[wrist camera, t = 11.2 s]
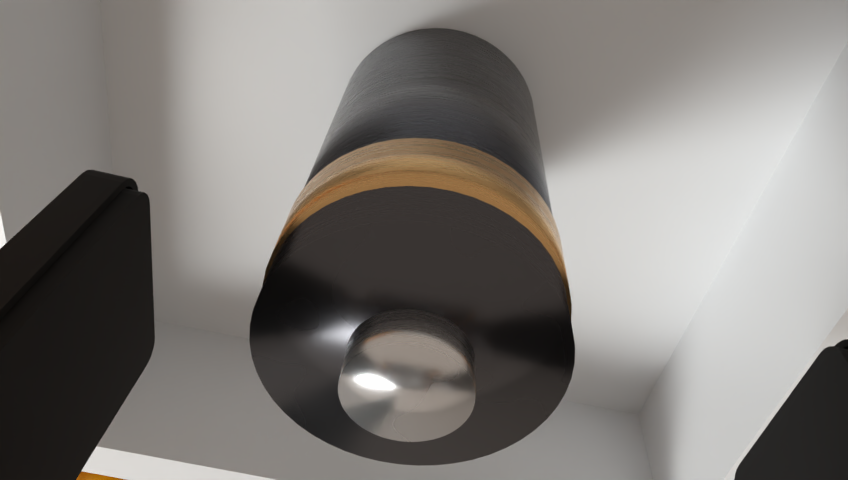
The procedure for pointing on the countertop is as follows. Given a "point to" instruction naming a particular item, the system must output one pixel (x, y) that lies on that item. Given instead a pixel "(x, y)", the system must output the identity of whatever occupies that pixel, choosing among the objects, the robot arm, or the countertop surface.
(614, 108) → the bin
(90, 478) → the countertop surface
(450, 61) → the battery cell
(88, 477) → the countertop surface
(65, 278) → the robot arm
